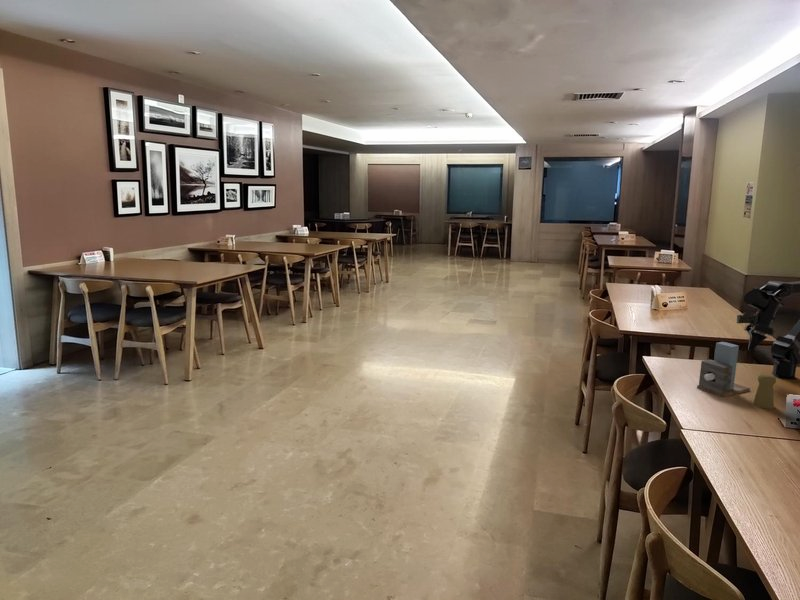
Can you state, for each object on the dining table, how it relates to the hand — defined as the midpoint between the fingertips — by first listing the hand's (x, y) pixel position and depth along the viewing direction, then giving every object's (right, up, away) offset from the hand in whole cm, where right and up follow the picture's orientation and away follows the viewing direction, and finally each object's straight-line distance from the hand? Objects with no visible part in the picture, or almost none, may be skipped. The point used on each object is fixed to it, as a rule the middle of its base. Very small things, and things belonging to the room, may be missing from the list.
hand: (749, 350), depth 219 cm
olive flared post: (-10, -17, -24) cm, 31 cm away
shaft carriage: (-19, -13, -11) cm, 25 cm away
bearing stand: (-15, -14, -9) cm, 22 cm away
